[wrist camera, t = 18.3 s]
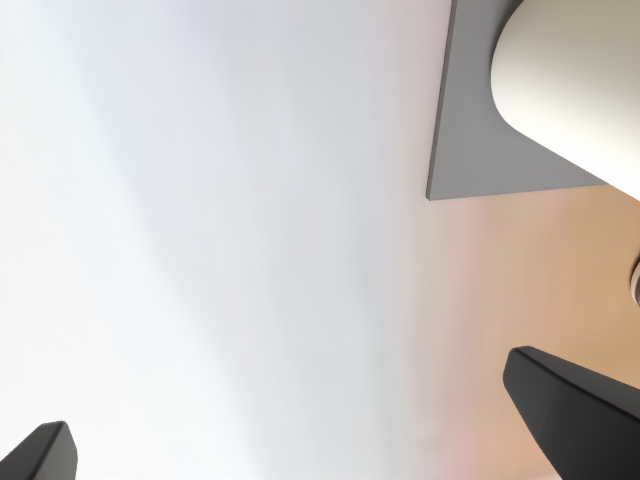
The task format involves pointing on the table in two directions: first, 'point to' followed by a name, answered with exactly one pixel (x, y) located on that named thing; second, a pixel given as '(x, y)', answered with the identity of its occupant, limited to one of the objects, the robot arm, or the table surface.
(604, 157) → the can
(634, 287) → the supplement bottle
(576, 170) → the mat
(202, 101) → the table surface
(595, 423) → the robot arm
